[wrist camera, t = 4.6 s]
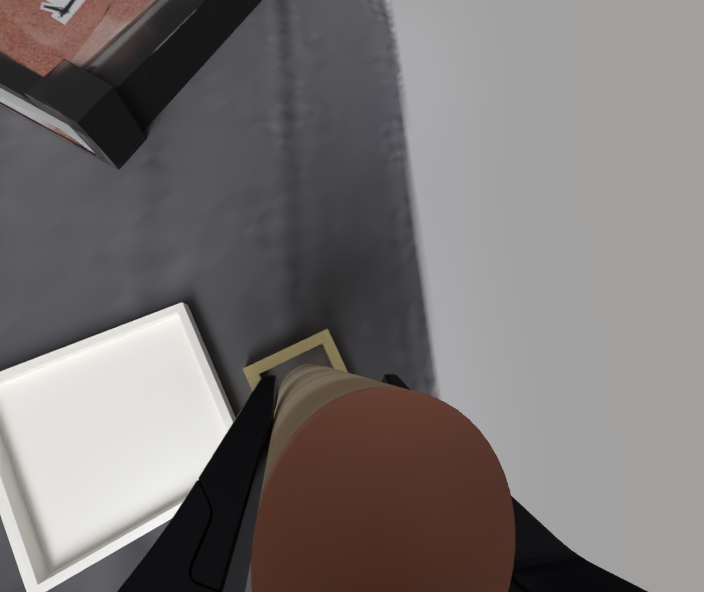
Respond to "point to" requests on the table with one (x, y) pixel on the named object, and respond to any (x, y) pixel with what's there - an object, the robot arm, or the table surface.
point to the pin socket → (294, 350)
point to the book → (106, 63)
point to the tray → (105, 441)
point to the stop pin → (378, 493)
